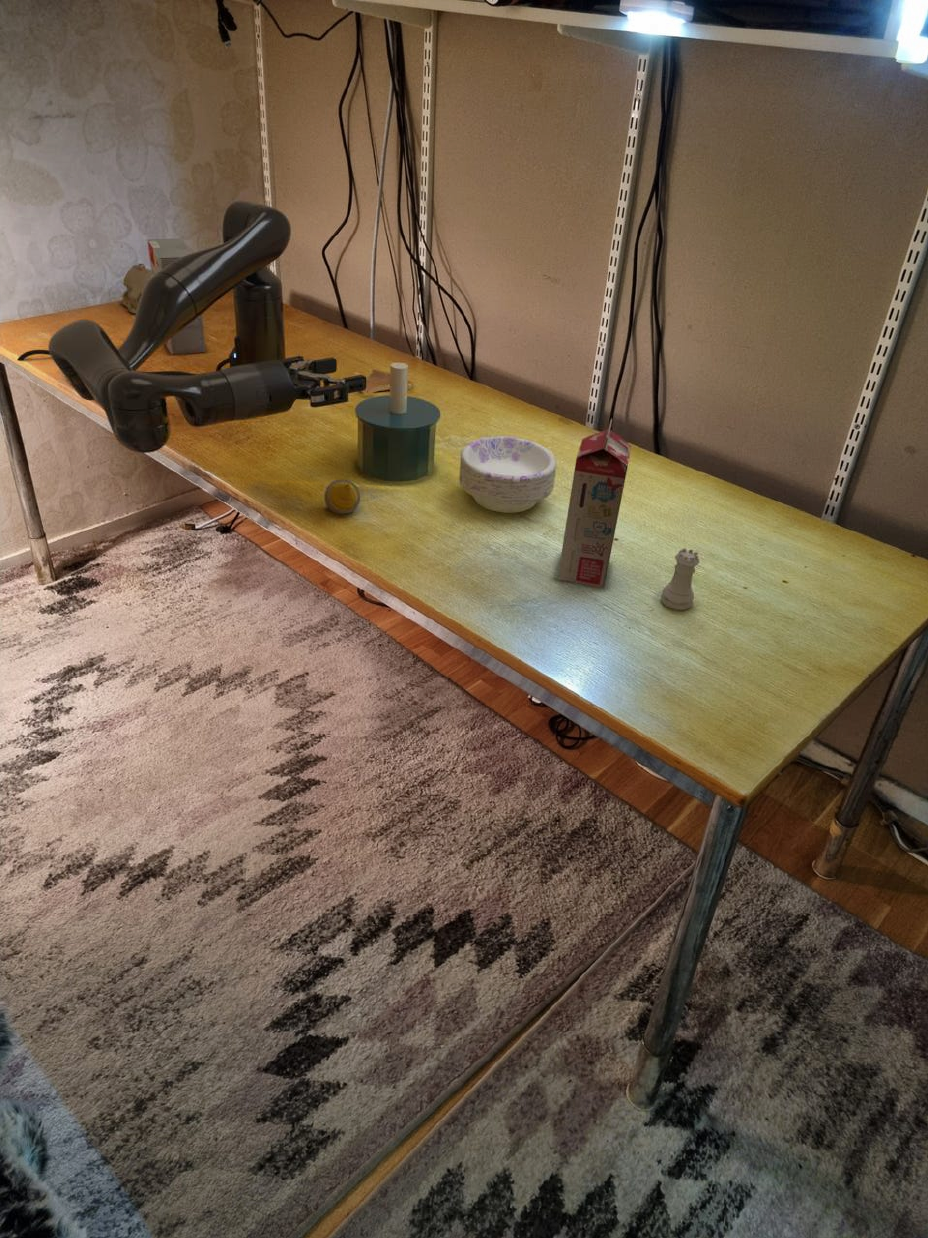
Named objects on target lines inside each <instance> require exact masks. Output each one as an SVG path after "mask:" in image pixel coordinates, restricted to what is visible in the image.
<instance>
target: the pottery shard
mask: <svg viewBox="0 0 928 1238" xmlns="http://www.w3.org/2000/svg"><path fill="white" fill-rule="evenodd" d="M411 389H412V383H411V381H410V380H408V384H407V391H408V390H411ZM388 390H389V391H390V373H388V372H385V371H380V370H377V369H372V372H371V373H370V375H369V376H368V377H367V378H366V389H365V390H364V391H359V393H361V394H362V395H372V394H374V393H377V392H384V391H388Z"/></svg>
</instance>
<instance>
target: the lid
mask: <svg viewBox="0 0 928 1238" xmlns="http://www.w3.org/2000/svg"><path fill="white" fill-rule="evenodd" d="M389 374H390V389H389V394H388V395H387V394H386V395H377V396H372V397H368V398H366V399H363V400H362V401H360V402H358V403H357V404H356V406H355V408H354V414H355V417H356V419H357V420H358V419H359V420H360V421H361V422H363V423H364V424H366V425H368V426H371V427H374V428H378V429H382V430H388V431H416V430H422V429H426V428H429V427H431V426H433V425H435V424H436V425H437V424H438V422H440V420H441V411H440V409H439V407H437V406H436V405H435V404H433V403H432V402H430V401H428V400H426V399H423V398H420V397H415V396H409V395H408V389H407V384H408V381H409V378H408V377H409V365H408V364H407V363H405V362H392V363H391V364H390V371H389Z"/></svg>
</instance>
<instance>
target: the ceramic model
mask: <svg viewBox="0 0 928 1238" xmlns="http://www.w3.org/2000/svg"><path fill="white" fill-rule="evenodd" d="M151 278H152V273H151V269H149V268H146V265H145V264H144V263H138V264H134V265H132V267H131V268H130V269H128V270H127V272H126V274H125V275H124V278H123V286H124V287H125V288H126V290H124V291H123V293H122V296H121V297H122V303H121V304H122V306H125V307H126V308H127V309H128V311H129V312H130V313H132V314H135V315H136V312H137V309H138V305H139V301H140V298H141V295H142V292H143V290H144V287H145V286H146V284H147V282H148V281H149V280H150V279H151Z"/></svg>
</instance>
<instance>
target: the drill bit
mask: <svg viewBox="0 0 928 1238" xmlns="http://www.w3.org/2000/svg"><path fill="white" fill-rule="evenodd" d="M323 496H324V502H325V505H326V507H327V508H328V509H329V511H331V512H333V514H337V515H340V516H343V515H344V516H345V515H349V514H352V513H353V512H354V511H355V510H356V509H357V507H358V506H359V504H360V502H361V501H360V500H361V494H360V489H358V487H357V485H356V484H355V483H354V482H353V481H350V480H349V479H342V478H340V479H335V480H333V481H331V482H330V483H329V484H328V485H327V487H326V489H325V491H324V495H323Z"/></svg>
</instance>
